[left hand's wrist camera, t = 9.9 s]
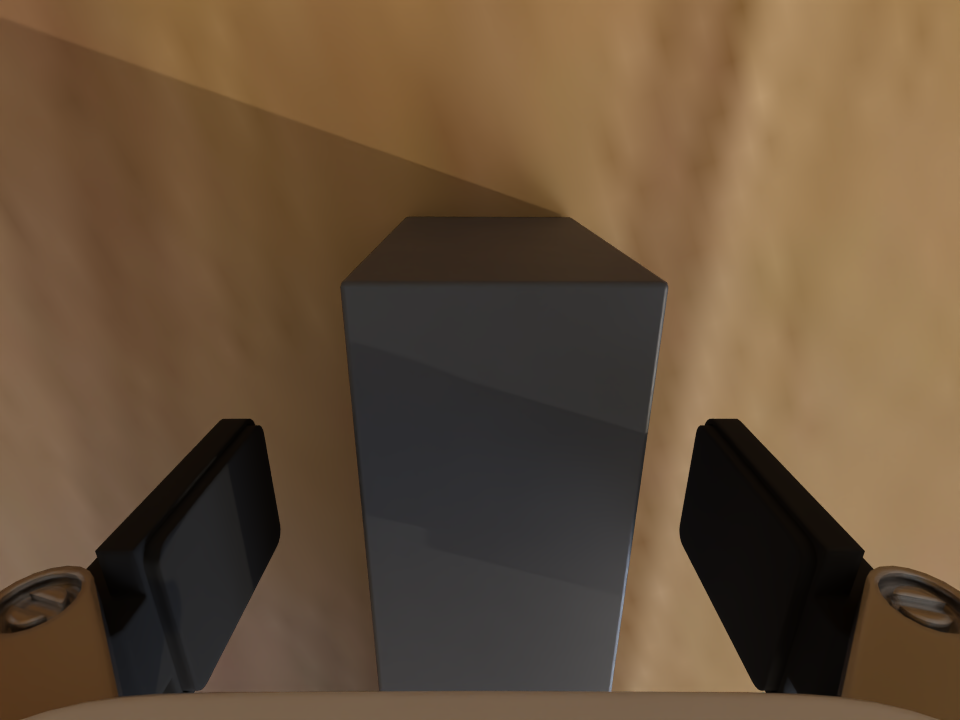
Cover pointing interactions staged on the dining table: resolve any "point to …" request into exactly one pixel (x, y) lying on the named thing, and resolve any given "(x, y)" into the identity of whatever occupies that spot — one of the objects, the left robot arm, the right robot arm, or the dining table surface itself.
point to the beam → (499, 447)
